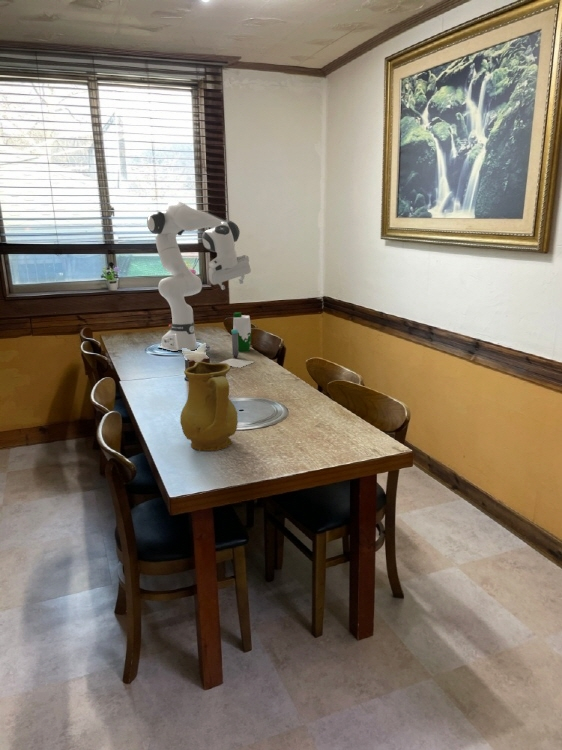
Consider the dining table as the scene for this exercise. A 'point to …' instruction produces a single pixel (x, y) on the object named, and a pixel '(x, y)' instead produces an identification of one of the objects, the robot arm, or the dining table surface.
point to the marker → (235, 343)
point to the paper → (237, 362)
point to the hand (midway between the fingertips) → (232, 286)
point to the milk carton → (242, 331)
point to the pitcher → (208, 407)
